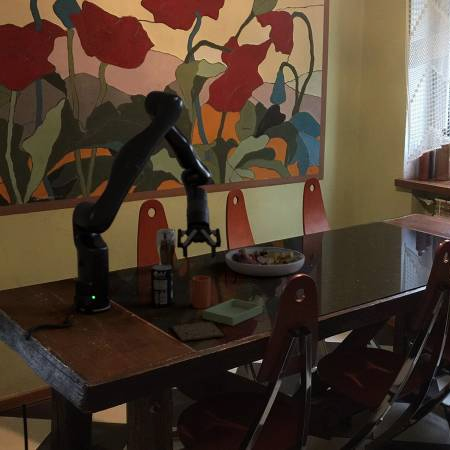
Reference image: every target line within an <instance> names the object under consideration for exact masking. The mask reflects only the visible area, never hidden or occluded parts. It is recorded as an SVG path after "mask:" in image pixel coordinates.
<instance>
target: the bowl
mask: <svg viewBox="0 0 450 450" xmlns="http://www.w3.org/2000/svg"><path fill="white" fill-rule="evenodd" d="M224 257H225V264H226V266H227V267H228V268H229V269H230V270H232V271H233V272H235V273H238V274H241V275H245V276H251V277H263V278H264V277H266V278H267V277H280V276H286V275H287V276H288V275H291V274H294V273H296V272H298V271H299V270H300V269H302V267H303V265H304V264H305V260H306V259H305V258H306V257H305V255H304V254H303V253H301V252H299V251H296V250H293V249H289V248H283V247H275V246H273V247H271V246H254V247H242V248H238V249H234V250H230V251H229V252H227V253H226V254H225V256H224Z"/></svg>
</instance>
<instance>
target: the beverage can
mask: <svg viewBox="0 0 450 450" xmlns="http://www.w3.org/2000/svg"><path fill="white" fill-rule="evenodd" d="M173 288H174V287H173V271H172V270H171V266H168V265H159V264H156V265H153V266H152V270H151V272H150V289H151V290H150V293H151V296H150V297H151V300H150V301H151V304H152V305H153V306H155V307H168V306H170V305H171V304H172V303H173V301H174V300H173V296H174V295H173V290H174V289H173Z"/></svg>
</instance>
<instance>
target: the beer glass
mask: <svg viewBox="0 0 450 450" xmlns="http://www.w3.org/2000/svg"><path fill="white" fill-rule="evenodd" d="M176 248H177V237H176V230H175V229H173V228H160V229H157V230H156V249H157V255H158V261H159V262H158V265H168V266H171V270H172V272H174V271H175V270H176V267H175V262H174V260H175V253H176Z"/></svg>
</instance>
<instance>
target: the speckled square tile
mask: <svg viewBox="0 0 450 450" xmlns="http://www.w3.org/2000/svg"><path fill="white" fill-rule="evenodd" d="M171 329H172V331H173V332H174V333H175V335H176V336H177V338H179V340H180V341H181V342H187V341H193V340H203V339H204V340H205V339H210V338H222V337H225V336H224V333H223V332H222V330H220V329H219V328H218V326H217V325H216V324H215V323H214V322H213V321H208V320H206V321H199V322H195V323H194V322H193V323H184V324H182V323H180V324H176V325H172V326H171Z"/></svg>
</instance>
